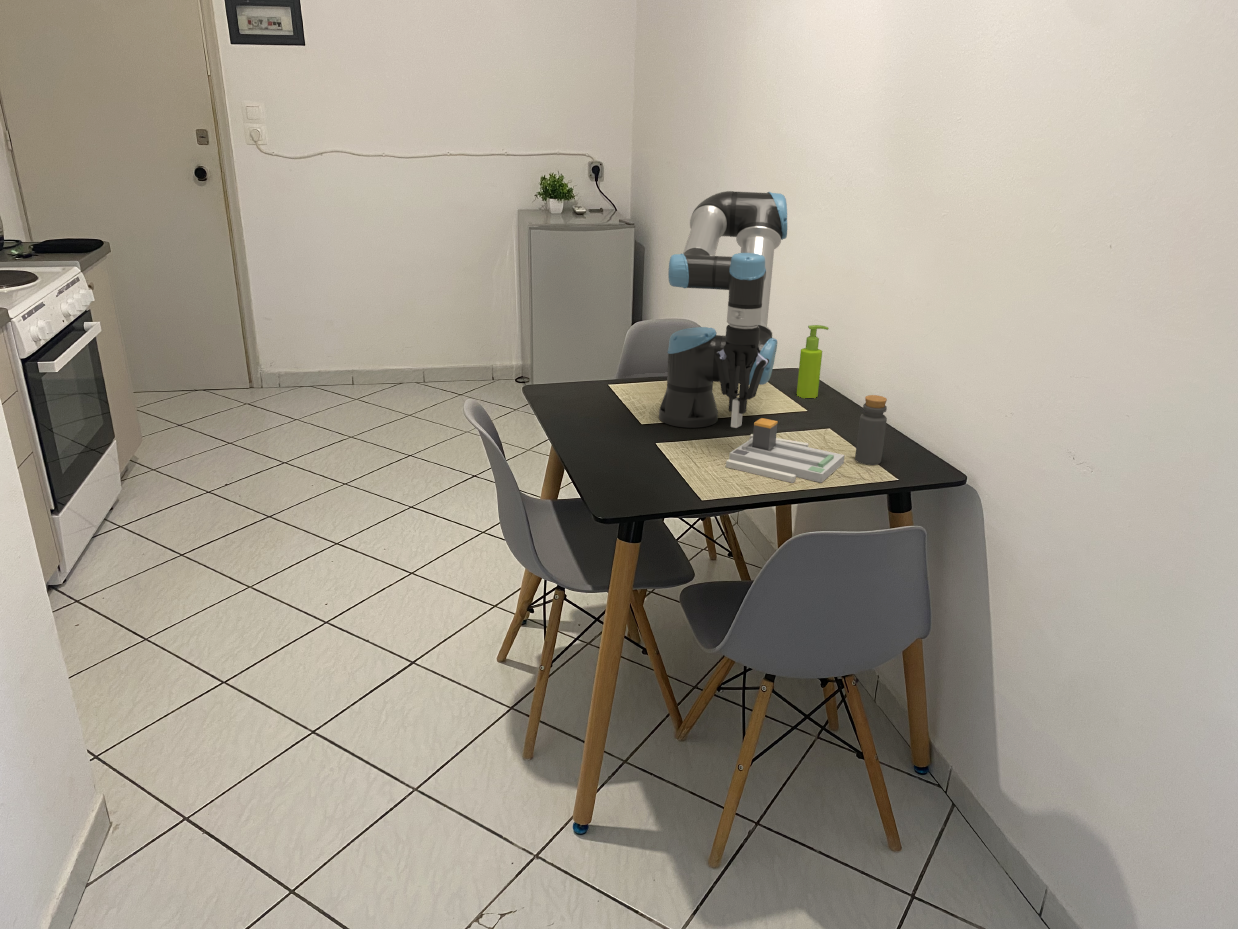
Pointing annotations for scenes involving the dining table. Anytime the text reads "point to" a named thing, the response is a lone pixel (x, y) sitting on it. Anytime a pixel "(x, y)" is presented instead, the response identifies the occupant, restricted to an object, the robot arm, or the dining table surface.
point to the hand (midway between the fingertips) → (736, 425)
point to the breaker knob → (764, 434)
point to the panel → (790, 459)
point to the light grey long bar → (761, 471)
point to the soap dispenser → (810, 365)
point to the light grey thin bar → (789, 441)
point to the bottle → (871, 431)
